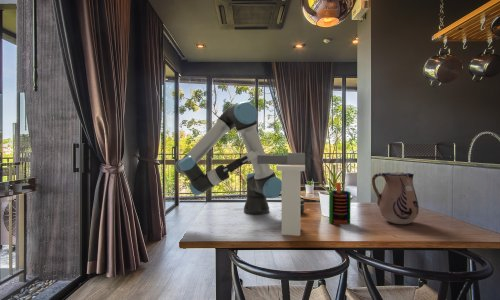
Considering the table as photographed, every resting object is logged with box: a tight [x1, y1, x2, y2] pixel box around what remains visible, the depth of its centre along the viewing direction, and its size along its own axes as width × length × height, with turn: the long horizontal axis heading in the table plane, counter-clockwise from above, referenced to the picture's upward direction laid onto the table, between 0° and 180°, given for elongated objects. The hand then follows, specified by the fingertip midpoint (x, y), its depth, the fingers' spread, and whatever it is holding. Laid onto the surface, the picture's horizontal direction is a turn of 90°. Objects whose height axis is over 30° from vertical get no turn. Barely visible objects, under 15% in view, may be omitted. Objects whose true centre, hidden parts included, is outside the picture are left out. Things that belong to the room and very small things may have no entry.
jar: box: [301, 198, 305, 215], centre depth 167 cm, size 10×10×8 cm
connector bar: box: [257, 152, 306, 165], centre depth 135 cm, size 6×22×5 cm, turn 80°
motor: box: [328, 182, 352, 226], centre depth 145 cm, size 10×9×20 cm
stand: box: [275, 163, 306, 237], centre depth 129 cm, size 17×12×30 cm
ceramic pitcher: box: [371, 171, 420, 225], centre depth 145 cm, size 18×21×25 cm
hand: (256, 153), depth 137 cm, fingers open, 13 cm apart
